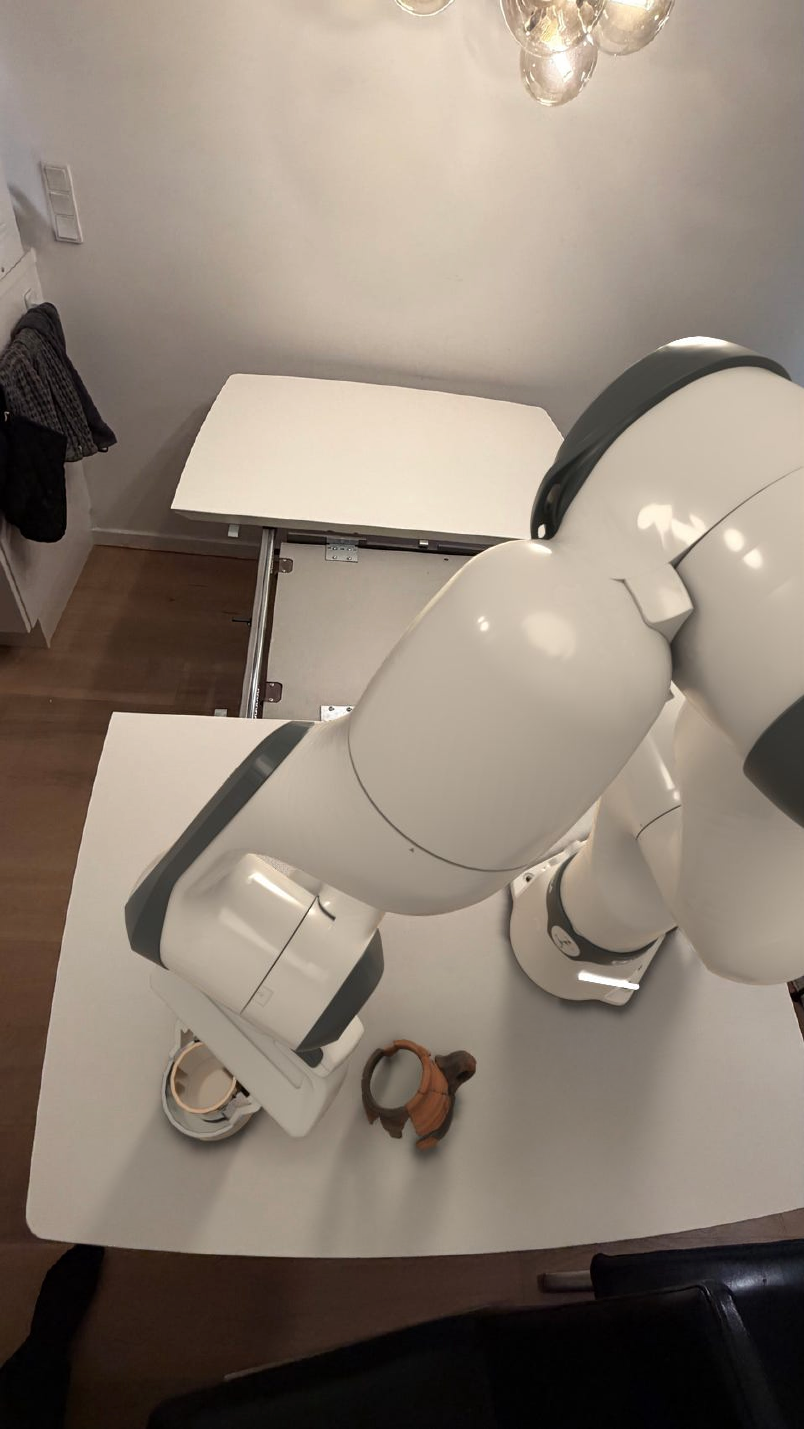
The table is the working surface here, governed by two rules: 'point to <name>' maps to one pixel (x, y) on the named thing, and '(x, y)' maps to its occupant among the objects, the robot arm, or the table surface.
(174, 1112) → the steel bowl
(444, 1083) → the pottery mug
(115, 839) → the table surface
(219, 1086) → the tan hollow cylinder
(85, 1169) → the table surface
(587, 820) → the table surface
